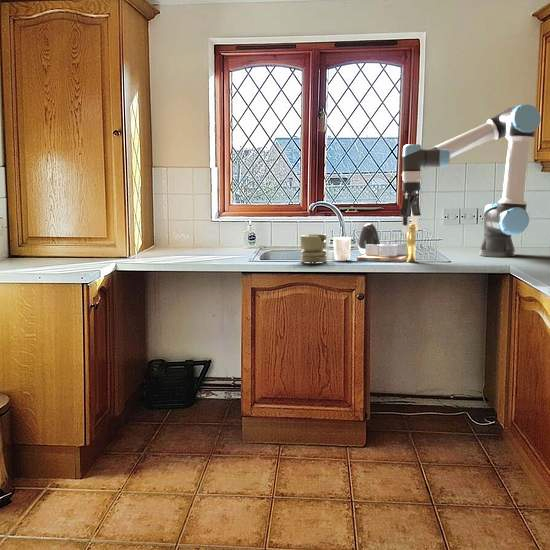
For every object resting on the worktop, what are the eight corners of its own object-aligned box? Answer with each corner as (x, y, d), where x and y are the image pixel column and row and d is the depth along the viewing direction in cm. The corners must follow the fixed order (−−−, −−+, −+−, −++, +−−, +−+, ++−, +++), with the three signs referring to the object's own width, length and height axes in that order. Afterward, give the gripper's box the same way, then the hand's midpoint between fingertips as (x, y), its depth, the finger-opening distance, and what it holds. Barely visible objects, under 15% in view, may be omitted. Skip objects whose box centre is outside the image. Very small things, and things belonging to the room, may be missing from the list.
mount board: (411, 257, 290) (411, 254, 289) (400, 262, 275) (400, 258, 275) (369, 256, 299) (369, 253, 299) (356, 260, 285) (356, 257, 285)
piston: (295, 235, 280) (310, 233, 289) (296, 263, 282) (310, 260, 291) (316, 236, 273) (331, 234, 282) (317, 264, 275) (331, 261, 284)
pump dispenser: (355, 256, 301) (355, 223, 299) (361, 253, 311) (361, 222, 309) (377, 256, 297) (377, 223, 295) (382, 254, 307) (382, 222, 305)
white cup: (339, 261, 283) (339, 239, 282) (330, 259, 290) (329, 237, 288) (354, 260, 287) (354, 237, 285) (344, 258, 293) (344, 236, 292)
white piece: (409, 254, 288) (409, 243, 287) (401, 257, 278) (401, 246, 277) (371, 253, 296) (371, 242, 296) (362, 256, 286) (362, 245, 285)
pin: (416, 261, 276) (416, 224, 274) (413, 262, 273) (414, 224, 270) (408, 261, 278) (408, 224, 275) (405, 262, 274) (405, 224, 272)
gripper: (411, 181, 283) (410, 229, 286) (393, 182, 261) (392, 233, 264) (428, 181, 279) (426, 230, 282) (411, 181, 258) (410, 234, 261)
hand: (410, 232), depth 273 cm, fingers open, 13 cm apart
